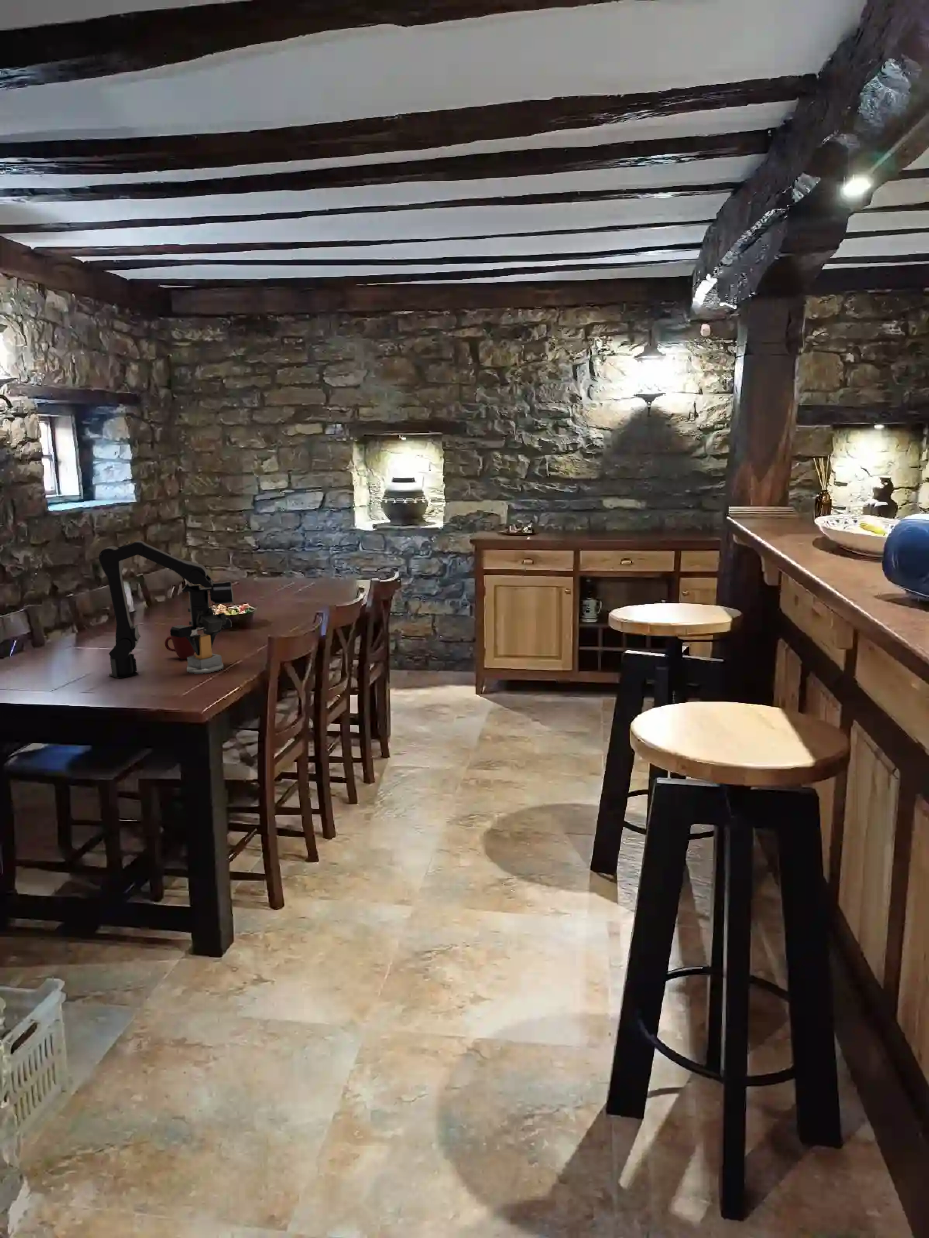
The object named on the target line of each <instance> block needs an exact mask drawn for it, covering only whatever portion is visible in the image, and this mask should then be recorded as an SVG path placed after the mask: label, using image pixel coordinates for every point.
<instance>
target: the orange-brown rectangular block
mask: <svg viewBox="0 0 929 1238" xmlns="http://www.w3.org/2000/svg"><path fill="white" fill-rule="evenodd" d="M199 635H200V638H199V647H200V655H199V656H198V655H197V654H196V653H195V655H196V658H200V659H204V658H208V657H212V653H213V650H212V649H213V648H212V649H211V637H210V635H208V634H204V633H201V634H199Z"/></svg>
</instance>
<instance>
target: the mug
mask: <svg viewBox="0 0 929 1238" xmlns="http://www.w3.org/2000/svg"><path fill="white" fill-rule="evenodd" d="M170 640H171V641H172V644H173V648H171V647H170V646H169V641H170ZM164 647H165V648H166V650H167V651H170V652H175V653H176V655H177V656H178V658H179V660H187V657H189V656H194V655H195V654H196V653H195V651H194V649H193V647H192V646H191V644H190V642H189V641H188V640H187V638H186V637H183V638H179V637H175V636H171V635H170V636H168V637H166V638H165V640H164Z"/></svg>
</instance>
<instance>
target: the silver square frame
mask: <svg viewBox="0 0 929 1238" xmlns="http://www.w3.org/2000/svg"><path fill="white" fill-rule="evenodd" d="M186 660H187V666H186V672H187V673H188V672H189V673H188V674H193V673H194V674H196V675H197V674H198V675H203V673H205V674H212V673H215V672H214V671H217V672H220V671H222V670H223V669H224V663H223V662H222V661H223V660H222V655H221V654H217V653H216V654H215V653H213V652H212V657H208V658H204V659H200V658H196V654H194V655H193V656H189V657H187V659H186ZM221 669H222V670H221ZM219 670H220V671H219ZM211 672H212V673H211Z"/></svg>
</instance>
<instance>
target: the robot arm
mask: <svg viewBox="0 0 929 1238" xmlns="http://www.w3.org/2000/svg"><path fill="white" fill-rule="evenodd" d="M135 556H139V557H140V556H141V557H142V558H144V559H147V560H149V561H151V562H154V563H156V564H158V565H160V566H162V567H163V568H164V567H165V568H166V569H169V570H171V571H173V572H175V573H176V574H178V575H179V576H180V577H181V578H182V579H184V580H185V581H187V583H186V584H185V586H184V587H183V588H182V589H181V592H182V593H188V597H189V600H188V601H189V608H187V612H188V613H190V621H188V625H185V624H178V625H174V626H171V628H170V630H169V633H170V636H175V637H179V638H183V637H186V638H187V640H188V641H189V642H190V644H191V646H192V647H193V649H194V651H195V653H194V654H195V655H196V654H197V655H198V656H199V655H200V647H199V638H200V634H198V632H199V631H202V633H203V634H208V635H210V637H211V649H213V645H214V642H215V639H216V636H217V635H218V634H219V633H221V632H222V629H230V628H232V626H233V625H232V620H231V619H230V618H229V617H227V614H226V613H224V612H220V613H217V614H214V611H213V608H212V607H210V602H209V600H210V601H211V602H212V603H214V605H220V604H221V605H224V604H225V605H226V604H233V603H234V591H233V590H234V589H233V585H232V581H231V580H229V581H228V580H227V581H224V582H223V581H222V582H220V581H219V582H215V581H214V579H212V578H211V577H210V575H209V574H208V571H207V568H206V567H205V566H204V565H203V564H201V563H197V562H193V561H190V560H185V559H180V558H178V557H176V556H174V555H171V554H169V553H168V552H166V551H163V550H161V549H158V548H157V547H154V546H152V545H150V544H148V543H146V542H144V541H143V540H135V541H134V542H131V543H127V544H124V545H120V546H114V545H111V546H108V547H105V548H103V550H101V551H100V552H99V554H98V561H99V563H100V566H101V568H102V571H103V573H104V574H105V576H106V578H107V581H108V587H109V592H110V597H111V602H112V608H113V612H114V617H115V622H116V624H115V625H116V626H115V645H114V646H113V648H112V649H111V650H110V651H109V652H108V656H109V659H110V670H111V673H109V674H108V675H109V676H110V677H113V678H116V679H125V678H128V677H132V676H137V675H139V671H138V668H137V667H138V666H137V659H136V658H135V654H133V650H134V649H135V648H136V647H137V645H138V643H139V640H140V639H141V634H140V632H139V624H133V622H132V620H131V615H130V611H129V605H128V601H127V596H126V590H125V585H124V578H123V569H124V568H123V567H124V566H123V565H124V564H123V563H124V560H126V559H129V558H132V557H135ZM209 596H210V598H209Z"/></svg>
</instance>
